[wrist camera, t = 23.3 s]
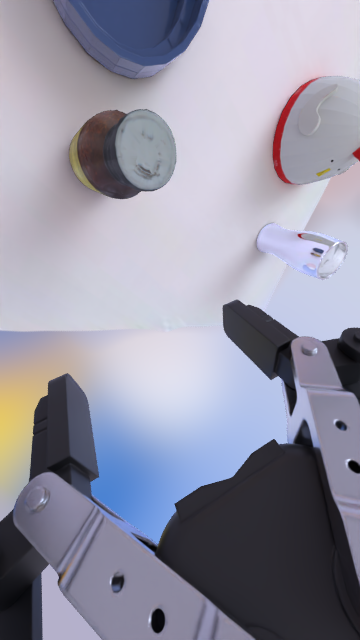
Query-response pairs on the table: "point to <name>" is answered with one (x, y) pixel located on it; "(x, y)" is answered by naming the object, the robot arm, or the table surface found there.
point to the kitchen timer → (318, 131)
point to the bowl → (133, 31)
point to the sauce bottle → (123, 153)
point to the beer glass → (303, 250)
